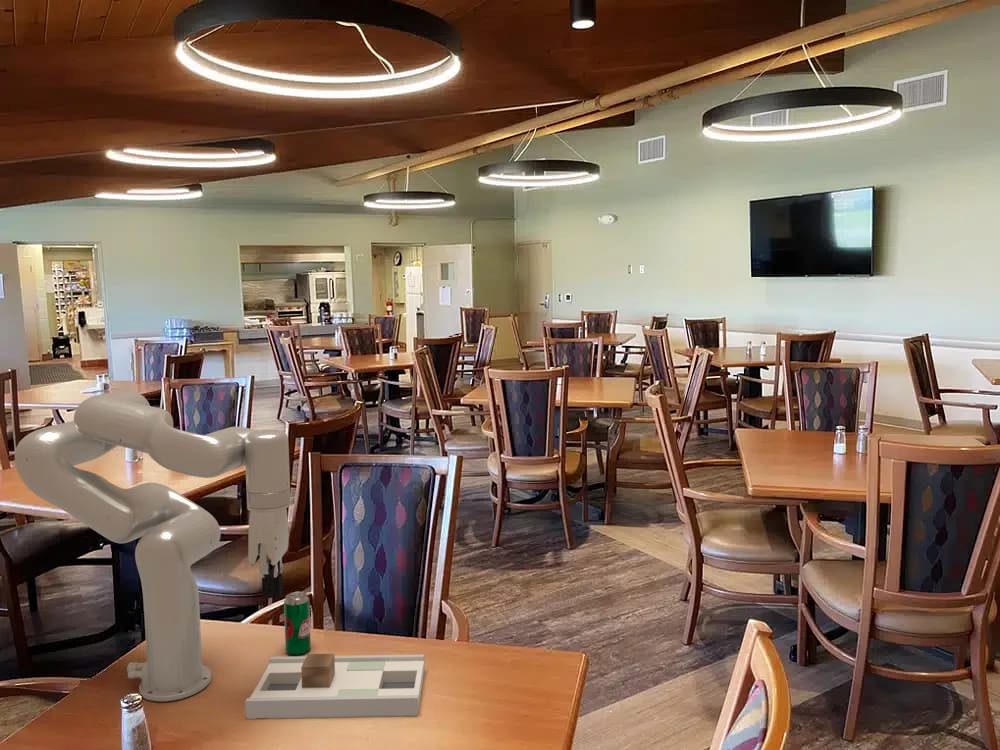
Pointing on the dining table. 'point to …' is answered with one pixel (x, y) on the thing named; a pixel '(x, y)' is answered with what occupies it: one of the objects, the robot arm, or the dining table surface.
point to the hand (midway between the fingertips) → (272, 596)
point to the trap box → (341, 688)
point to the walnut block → (318, 671)
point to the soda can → (297, 623)
